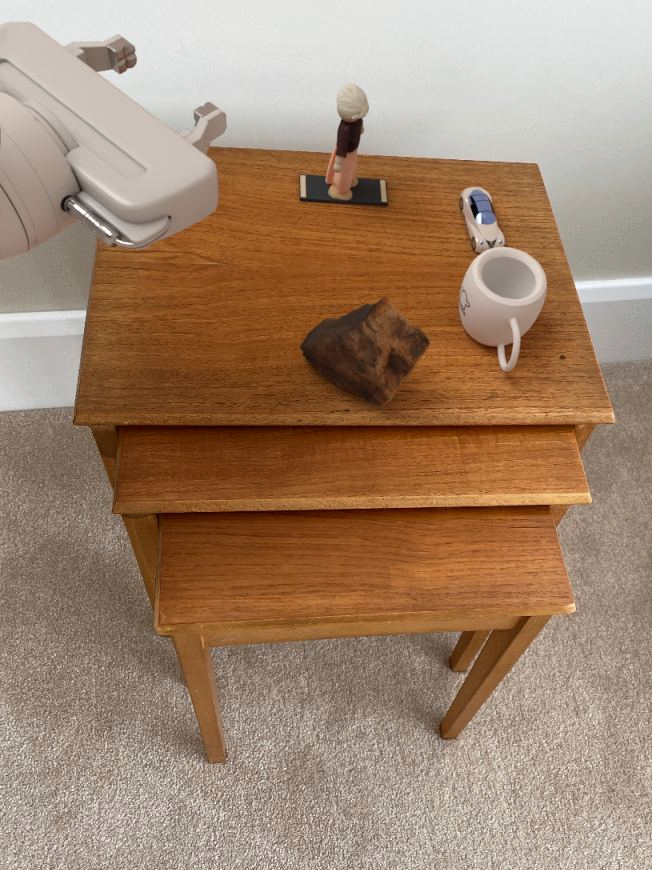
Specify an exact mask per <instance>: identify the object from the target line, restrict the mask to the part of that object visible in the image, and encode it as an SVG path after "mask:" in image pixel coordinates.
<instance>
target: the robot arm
mask: <svg viewBox="0 0 652 870" xmlns="http://www.w3.org/2000/svg"><path fill="white" fill-rule="evenodd" d="M135 52H136V47H135V45H134V44H133V43H131V42H130V41H128V39H126V38H125V37H124V36H122V35H121V34H117V33H116V34H114V35H112V36H111V37H109V38H106V39H105V40H103V41H101V40H96V41H95V40H93V41H91V40H89V41H72V42H69V43H67V44H65V45H62V44H61V43H59V42H58V41H57V40H55V39H54V38H53V37H51V36H50V35H49V34H48V33H46V32H45V31H44V30H42V29H41V28H40V27H39V26H37V25H36V24H34V23H33V22H29V21H8V22H4V23H2V24H0V263H2V262H5V261H10V260H14V259H17V258H20V257H22V256H24V255H26V254H27V253H29V252H31V251H32V250H34V249H36V248H37V247H39V246H40V245H42V244H44V243H45V242H47V241H48V240H50V239H51V238H53V237H55V236H56V235H59V234H60V233H61V232H63V231H65V229H67V228H69V227H71V226H72V225H74V224H76V223H77V222H78V223H80V224H81V225H83V226H84V227H86V228H87V229H89V230H90V231H91V232H93V233H94V234H95V236H96V237H97V238H98V239H99V240H100V241H102V242H103V243H104V244H106V245H107V246H109V247H112V248H116V247H121V248H123V249H133V250H136V251H141V250H145V249H146V248H148V247H151V245H152V244H153V245H154V243H156V242H159V241H161V240H164V239H166V238H169V237H171V236H174V235H176V234H178V233H179V232H182V231H184V230H185V229H188V228H190V227H192V226H193V225H195V224H197V223H199V222H201V221H202V220H204V219H206V218H207V217H209V216H211V215H212V214H213V213H214V212H215V211H216V210H217V208H218V204H219V199H220V189H219V176H218V169H217V165H216V163H215V162H214V161H213V159H211V158H210V157H209V156H208V155H207V154H208V151H209V148H210V146H211V142H213V141H214V140H216V139H217V138H219V137H221V136H222V135H223V134H225V132H226V131H227V128H228V127H227V126H228V125H227V124H228V123H227V114H226V113H225V112H224V111H223V110H222V109H220V108H219V107H218V106H217V105H216V104H213V103H212V102H211V101H207V102H205V103H204V105H200V106H198V107H197V108H195V109H194V110H193V119H194V121H195V123H194V129H193V131H192V132H191V131H190V130H189V129H188V128H184V129H183V130H181V131H179V132H178V133H177V132H176V131H175V130H174V129H172V128H171V127H170V126H168V125H167V124H166V123H164V122H163V121H162V120H161V119H159V118H157V117H156V116H155V115H154V114H152V113H151V112H150V111H148V110H147V109H146V108H144V107H143V106H142V105H141V104H139V103H138V102H137V101H135V100H134V99H133V98H132V97H131V96H129V95H127V93H125V92H124V91H122V90H121V89H120V88H118V87H117V86H116V85H114V84H113V83H111V81H109V80H107V79H106V78H105V77H104V76H103V75H101V74H100V72H105V71H112V70H113V71H114V72H115V73H117V74H118V75H122V74H123V73H125V72H127V71H128V69H133V68H134V67H135V66H136V65H137V63H138V58H137V55H136V53H135Z"/></svg>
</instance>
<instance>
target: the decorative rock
mask: <svg viewBox="0 0 652 870" xmlns="http://www.w3.org/2000/svg"><path fill="white" fill-rule="evenodd" d="M431 343H432V341H431V338H430V337H429V336H428V335H427V334H426V333H425V331H424V330H423V328H422V327H419V326H416V325H415V324H414V323H413V322H412V321H411V320H410V319H408V318H407V317H406V316H405V315H403V313H402V312H401V311H399V310H398V309H397V308H396V307H395V305H394V304H393V302H392V300H391V299H390V298H388V297H382V298H381V299H379V300H378V301H377V302H375V303H366V304H363V305H361V306H360V307H358V308H356V309H354V310H351V311H350V312H348V313H346V314H342V315H340V316H339V317H338V318H331V317H330V318H329V317H327V318H324V319H323V320H321V322H320V323H318V324H317V325H316V326H314V327H313V328H312V330H310V331H309V332H308V333H307V334H306V336H305V338H304V339H303V340H302V342H301V343H300V346H299V349H300V350H301V351H302V353H301V355H302V356H303V357H304V359H305V361H306V362H308V363H309V364H311V365H312V366H313V367H314V368H315V369H316V370H317V371H318V372H320V374H321V375H322V376H325V377H326V378H328V379H330V380H331V381H332V382H333V383H334V384H335V385H336V386H337V387H339V388H340V390H343V391H345V392H349V393H352V394H355V395H357V396H361V397H362V398H363V399H364V400H365V401H366V402H368V403H369V404H371V405H372V406H374V407H377V408H379V407H380V408H381V407H383V406H385V405H387V404H388V403H389V402H391V401H392V400H393V397H394V396H395V394H396V393H397V391H398V389H400V387H401V385H402V384H403V381H404V380H405V379H406V377H408V376H409V375H410V374H411V372H412V371H413V370H414V369H415V367H416V365H417V364H418V362H419V361H420V360H421V359H422V358H423V356H424V355H425V353H426V351H427V350H428V349H429V347H430V345H431Z"/></svg>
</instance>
